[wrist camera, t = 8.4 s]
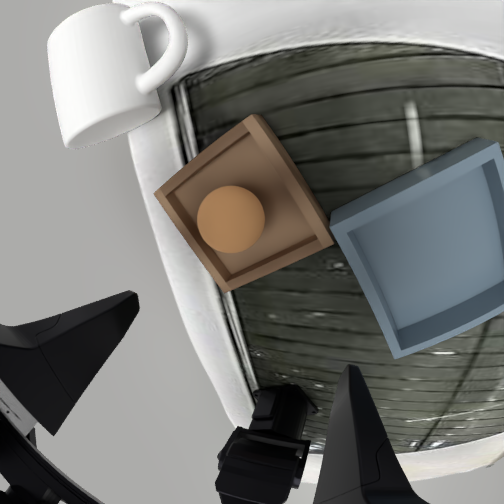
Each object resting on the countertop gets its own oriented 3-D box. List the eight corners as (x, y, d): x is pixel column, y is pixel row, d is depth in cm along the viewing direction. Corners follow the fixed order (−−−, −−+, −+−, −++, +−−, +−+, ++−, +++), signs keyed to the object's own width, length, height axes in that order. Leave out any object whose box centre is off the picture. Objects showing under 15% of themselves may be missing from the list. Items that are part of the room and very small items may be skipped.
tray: (335, 231, 20) (334, 243, 18) (233, 279, 25) (224, 293, 23) (261, 114, 18) (251, 114, 16) (168, 186, 22) (153, 193, 21)
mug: (115, 140, 22) (48, 158, 15) (95, 57, 18) (30, 57, 12) (226, 87, 17) (162, 75, 11) (194, -9, 14) (132, -42, 7)
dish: (509, 278, 16) (524, 299, 13) (392, 334, 22) (394, 359, 19) (476, 137, 13) (497, 142, 10) (331, 211, 19) (329, 227, 16)
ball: (283, 220, 20) (269, 247, 16) (235, 246, 22) (213, 275, 18) (248, 167, 19) (224, 181, 15) (202, 199, 21) (172, 219, 17)
